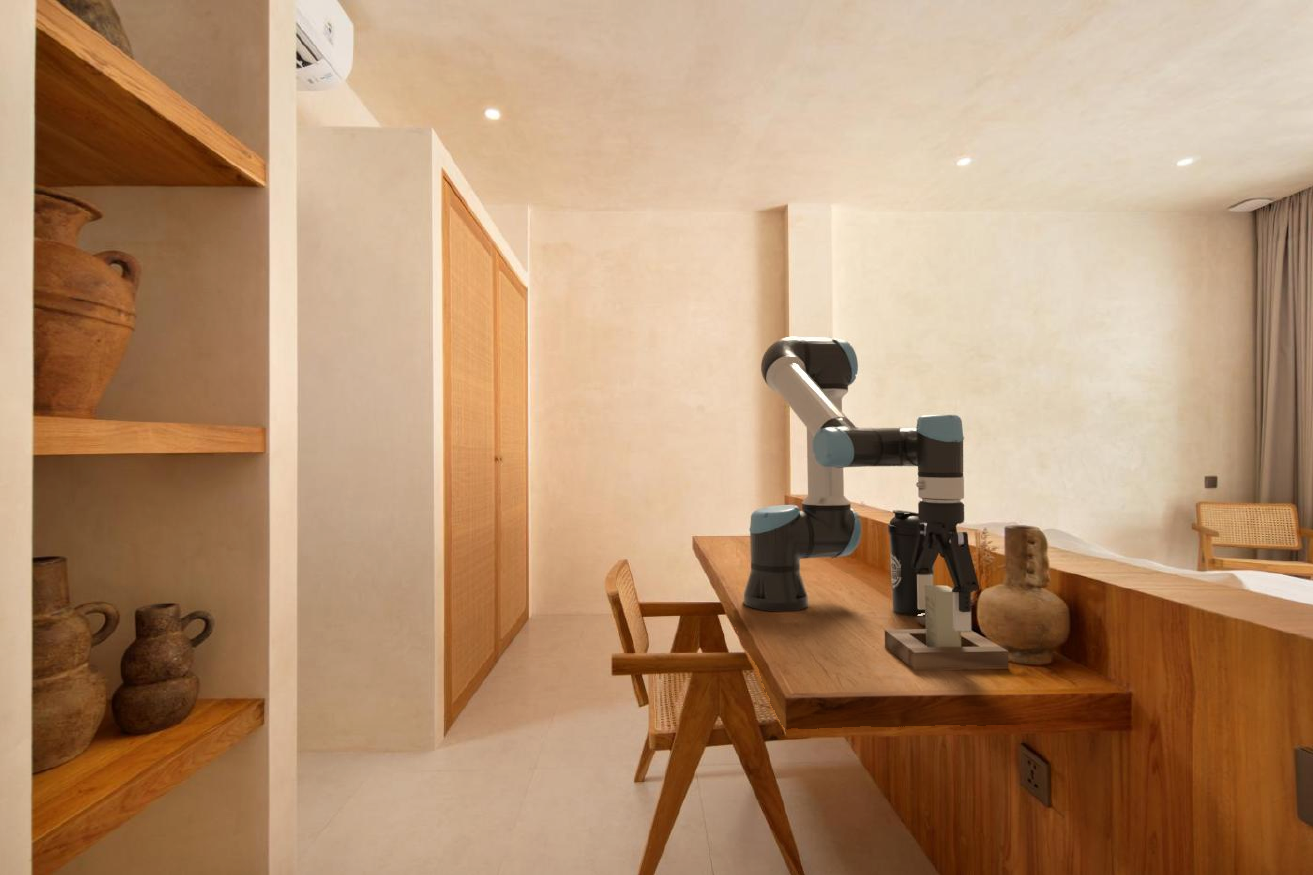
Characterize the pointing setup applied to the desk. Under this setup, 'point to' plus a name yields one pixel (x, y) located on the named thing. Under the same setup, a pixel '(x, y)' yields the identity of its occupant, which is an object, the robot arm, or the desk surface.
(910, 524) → the water bottle
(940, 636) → the skincare box
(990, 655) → the socket stand
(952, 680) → the desk surface
